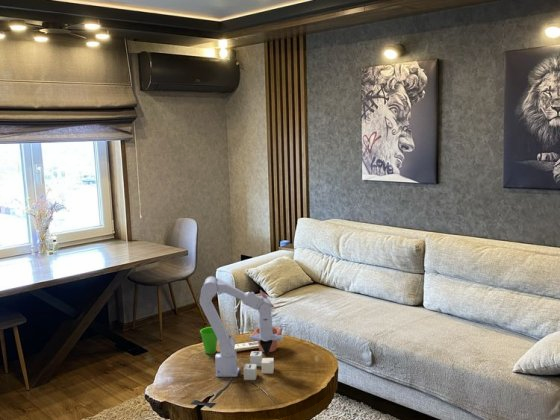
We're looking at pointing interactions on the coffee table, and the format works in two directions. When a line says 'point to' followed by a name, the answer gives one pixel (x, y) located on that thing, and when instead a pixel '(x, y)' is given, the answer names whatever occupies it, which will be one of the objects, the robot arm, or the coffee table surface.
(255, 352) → the white marked cube 7
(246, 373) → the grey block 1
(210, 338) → the cup
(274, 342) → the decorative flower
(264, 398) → the coffee table surface
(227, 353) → the robot arm
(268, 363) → the cream block
